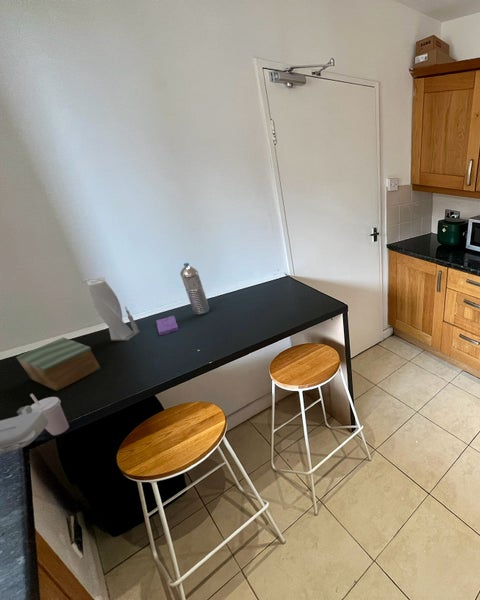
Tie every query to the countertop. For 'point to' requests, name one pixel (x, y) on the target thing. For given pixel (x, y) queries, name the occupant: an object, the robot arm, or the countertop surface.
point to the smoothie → (51, 414)
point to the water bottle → (194, 290)
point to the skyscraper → (110, 309)
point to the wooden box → (63, 371)
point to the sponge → (167, 325)
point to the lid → (53, 353)
